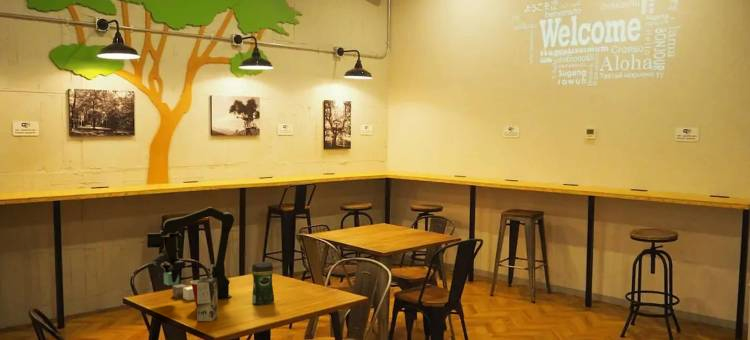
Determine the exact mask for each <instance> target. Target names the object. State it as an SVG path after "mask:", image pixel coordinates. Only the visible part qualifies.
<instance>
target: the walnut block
mask: <svg viewBox="0 0 750 340" xmlns="http://www.w3.org/2000/svg"><path fill="white" fill-rule="evenodd" d="M185 287H188V285H186V284H183V283H181V284H180V283H179V284H175V285H172V297H174V298H176V299H180V298H183V288H185Z"/></svg>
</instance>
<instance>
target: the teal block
mask: <svg viewBox="0 0 750 340" xmlns="http://www.w3.org/2000/svg"><path fill="white" fill-rule="evenodd" d="M163 284H164V285H167V286H174V285H180V274H179V275H178V277H177V279H176V282H174V283H173V281H172V275H171V272H165V271H164V272H163Z"/></svg>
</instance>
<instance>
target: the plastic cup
mask: <svg viewBox="0 0 750 340" xmlns="http://www.w3.org/2000/svg"><path fill="white" fill-rule="evenodd" d="M200 280H201V279H195V280H191V281H190V284H191V286H192V289H193V293H194V299H193V300H194V302H195V307H196V309H197V282H198V281H200Z"/></svg>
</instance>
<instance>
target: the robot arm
mask: <svg viewBox="0 0 750 340" xmlns="http://www.w3.org/2000/svg"><path fill="white" fill-rule="evenodd" d="M208 217H212V218H213V219H216V220H218V221H219V229H220V231H219V233H220V234H219V239H218V245H217V251H216V257H215V261H214V264H212V263H211V264H210V270H209V275H210V276H211V277H210V278H217V300H223V299H229V298H232V297H233V296H232V295H230V291H229V290H230V288H229V286H230V282H231V281H230V280H229V278H228V277H227V275H226V267H225V260H226V255H227V254H226V253H227V250H228V243H229V242H228V241H229V237H230V234H231V233H230V232H231V230H232V228H233V226H234V223H235V218H234V215H233V214H232V213H230V212H228V211H224V212H223V211H220V210H218V209H216V208H213V207H212V206H207V207H205V208H203V209H200V210H198V211H195V212H192V213H189V214H186V215H184V216H180V217H172V218H168V219H166V220H165V221H164V222H163V227H162V228H161V229H160V230H159V232H152V233H151V232H147V235H146V238H147V239H146V249H160V248H161V247H162V246H164V247H163V249H162V250H161V253H158V254H157V255H154V256H153V257H151V261H152V265H153V266H156V267H159V266H160V267H161V268H162V269H163V270H164V273H165V272H171V275H172V281H173V283H174V282H176V279H177V277H178V275H179V276H180V273H181V272H182V269H186V268H187V263H186V262H185V261H183V260H180V257H178V252H180V249H179V248H178V238H182V237H183V236H182V234H181V233H180V232H179V231H178V230H180V229H181V228H184V227H185V226H187V225H189V224H192V223H195V222H198V221H201V220H203V219H206V218H208Z"/></svg>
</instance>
